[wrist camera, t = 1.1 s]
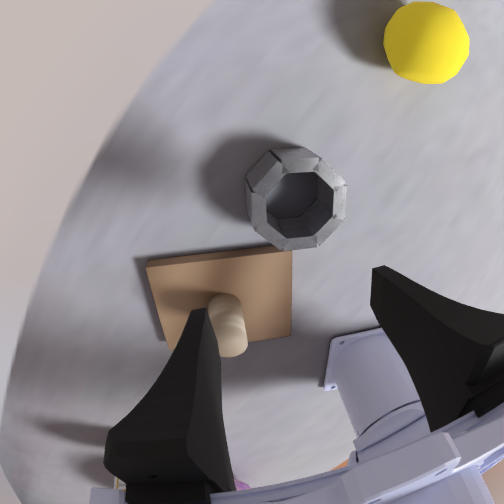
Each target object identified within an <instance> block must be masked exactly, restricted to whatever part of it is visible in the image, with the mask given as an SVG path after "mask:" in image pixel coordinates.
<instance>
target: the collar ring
mask: <svg viewBox="0 0 504 504" xmlns="http://www.w3.org/2000/svg"><path fill="white" fill-rule="evenodd" d="M300 172H314V173H315V174H316V175H317V200H316V201H315V202H314V203H313V204H312V205H311V206H310V207H309V208H308V209H307V210H306V211H305V212H304V213H303V214H302V216H301V217H292V218H282V219H276V218H275V217H274V216H272V215H271V214H270V213H269V212H267V211H266V195H267V194H268V192H269V191H270V190H271V189H272V188H273V187H274V186H275V185H276V184H277V183H278V182H279V181H280V179H281V178H282V177H283V176H284V175H285V174H286V173H300ZM246 177H247V178H245V191H246V206H247V211H248V214H249V217H250V220H251V223H252V226H253V228H254V230H255V231H256V232H257V233H258V234H260V235H261V236H262V237H264V238H265V239H266V240H268V241H269V242H270V243H271V244H273V245H274V246H275V247H277V248H278V249H279V250H281V249H283V251H289V250H297V249H306V248H314V247H317V244H318V245H319V246H320V245H321V244H322V243H323V242H324V241H325V240H326V239H327V238H328V237H329V236H330V235H331V234H332V233H333V232H334V231H335V230H336V229H337V228H338V227H339V226H340V225H341V223H342V222H343V221H342V220H341V219H345V207H346V190H347V186H346V185H345V182H344V180H343V179H342V178H341V177H340V176H339V175H338V174H337V173H336V172H335V171H334V170H333V169H332V168H331V167H330V166H329V165H328V164H327V163H326V162H325V161H324V160H323V159H322V158H320V157H319V156H317V155H316V154H314V153H313V152H311V151H310V150H308V149H305V148H304V147H300V148H281V149H271V153H270V152H269V151H267V152H266V153H265V154H264V155H263V157H262V158H261V159H260V160H259V161H258V162H257V163H256V164H255V165H254V166H253V168H252V169H251V170H250V171H249V172H248V173H247V174H246Z"/></svg>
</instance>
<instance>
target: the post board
mask: <svg viewBox="0 0 504 504" xmlns="http://www.w3.org/2000/svg"><path fill="white" fill-rule="evenodd" d="M146 272H147V275H148V279H149V283H150V287H151V290H152V294H153V298H154V301H155V305H156V308H157V311H158V315H159V318H160V322H161V325H162V328H163V331H164V335H165V338H166V341H167V344H168V347H169V350H174V349H175V347H176V345H177V343H178V341H179V339H180V336H181V334H182V332H183V329H184V327H185V324H186V322H187V319H188V317H189V314H190V312H191V310H194V309H199V308H204V307H206V309H207V312H208V315H209V318H210V321H211V323H212V326H213V329H214V332H215V335H216V338H217V341H218V347H219V354H220V356H221V357H235V356H238V355H240V354H242V353H243V352H244V351H245V350H246V348H247V346H248V342H252V341H259V340H266V339H273V338H280V337H286V336H291V306H292V250H289V251H283V249H281V250H279V249H278V248H277V247H275V246H266V247H257V248H249V249H240V250H231V251H223V252H214V253H206V254H197V255H189V256H180V257H172V258H163V259H155V260H148V261H147V264H146Z"/></svg>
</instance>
